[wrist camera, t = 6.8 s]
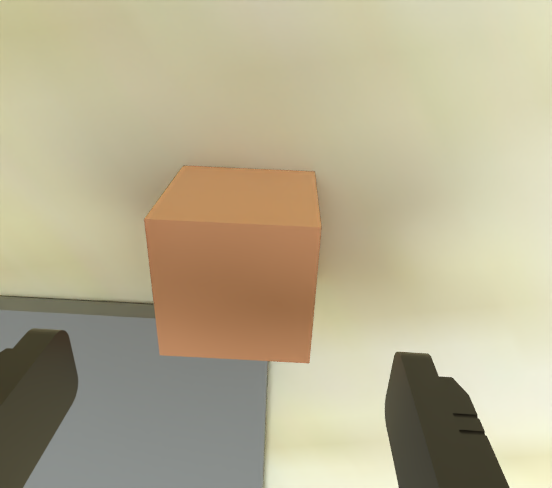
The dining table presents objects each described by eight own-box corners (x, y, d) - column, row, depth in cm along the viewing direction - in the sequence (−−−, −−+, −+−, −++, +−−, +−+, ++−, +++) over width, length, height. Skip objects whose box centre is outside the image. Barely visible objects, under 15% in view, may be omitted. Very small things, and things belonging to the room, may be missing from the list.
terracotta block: (190, 276, 19) (159, 355, 15) (183, 165, 17) (144, 219, 13) (306, 282, 19) (309, 363, 15) (314, 170, 17) (321, 227, 12)
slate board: (-29, 506, 28) (-40, 522, 27) (-128, 289, 20) (-147, 302, 19) (261, 524, 27) (260, 541, 26) (269, 310, 20) (268, 324, 19)
